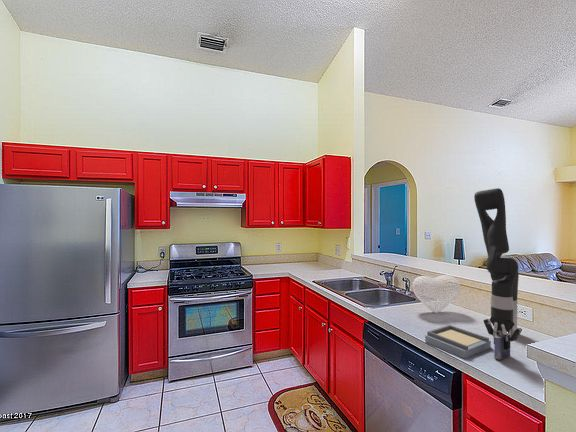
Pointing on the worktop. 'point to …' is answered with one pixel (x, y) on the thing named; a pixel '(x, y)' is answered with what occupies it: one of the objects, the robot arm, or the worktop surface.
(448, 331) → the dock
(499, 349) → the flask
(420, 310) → the worktop surface
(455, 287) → the heart
